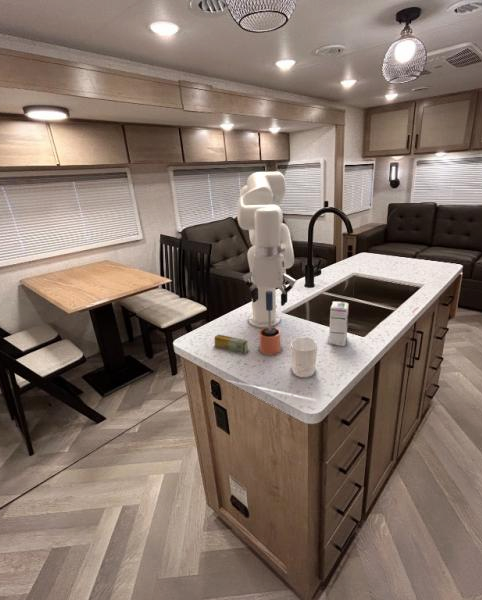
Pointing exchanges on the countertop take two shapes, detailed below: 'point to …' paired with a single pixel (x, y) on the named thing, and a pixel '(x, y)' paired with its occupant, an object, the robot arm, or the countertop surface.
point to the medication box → (231, 343)
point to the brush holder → (270, 342)
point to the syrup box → (338, 323)
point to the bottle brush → (269, 313)
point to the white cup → (303, 356)
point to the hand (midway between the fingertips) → (269, 302)
